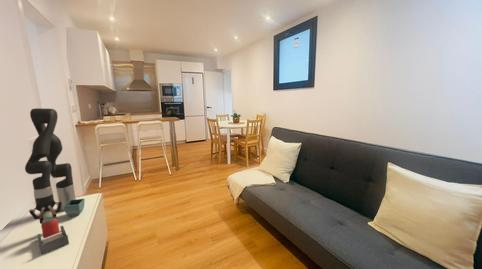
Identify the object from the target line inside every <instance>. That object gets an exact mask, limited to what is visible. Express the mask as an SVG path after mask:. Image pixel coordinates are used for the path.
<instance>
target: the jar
mask: <svg viewBox="0 0 482 269" xmlns="http://www.w3.org/2000/svg"><path fill="white" fill-rule="evenodd" d="M42 217H43V220H44V219H46V218H49V217H53V213H52V212H51V210H50V211H46V212H44V213H43V216H42Z"/></svg>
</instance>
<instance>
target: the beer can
mask: <svg viewBox="0 0 482 269" xmlns="http://www.w3.org/2000/svg"><path fill="white" fill-rule="evenodd" d="M41 230H42V231H41V232H42V237H43V239H44V238H47V237H49V236H52V235H55V234H57V233H60V232H61V230H60V227H59V221H58V219H56V217H49V218H46V219H44V220H43V221H42V224H41Z"/></svg>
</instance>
